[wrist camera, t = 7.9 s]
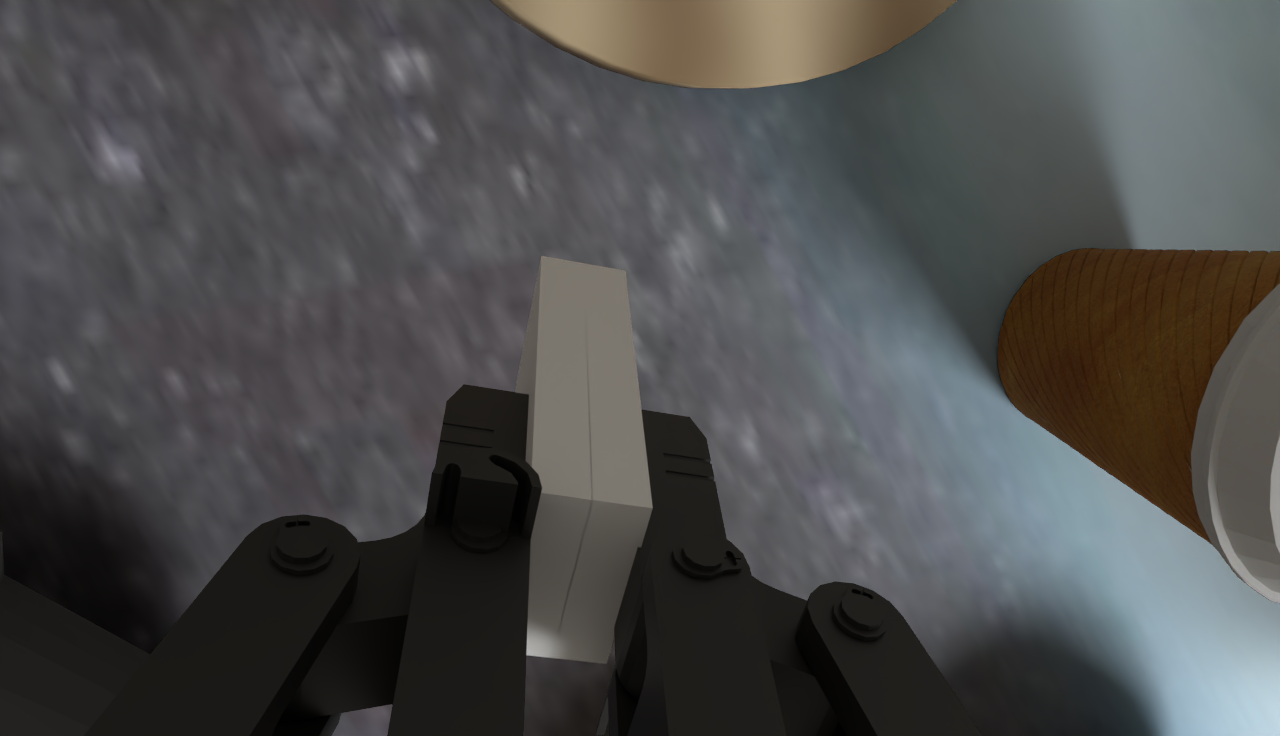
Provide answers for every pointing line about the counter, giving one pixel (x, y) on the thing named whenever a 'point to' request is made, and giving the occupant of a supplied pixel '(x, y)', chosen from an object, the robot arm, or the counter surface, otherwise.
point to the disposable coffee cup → (1163, 384)
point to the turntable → (724, 36)
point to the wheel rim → (55, 665)
